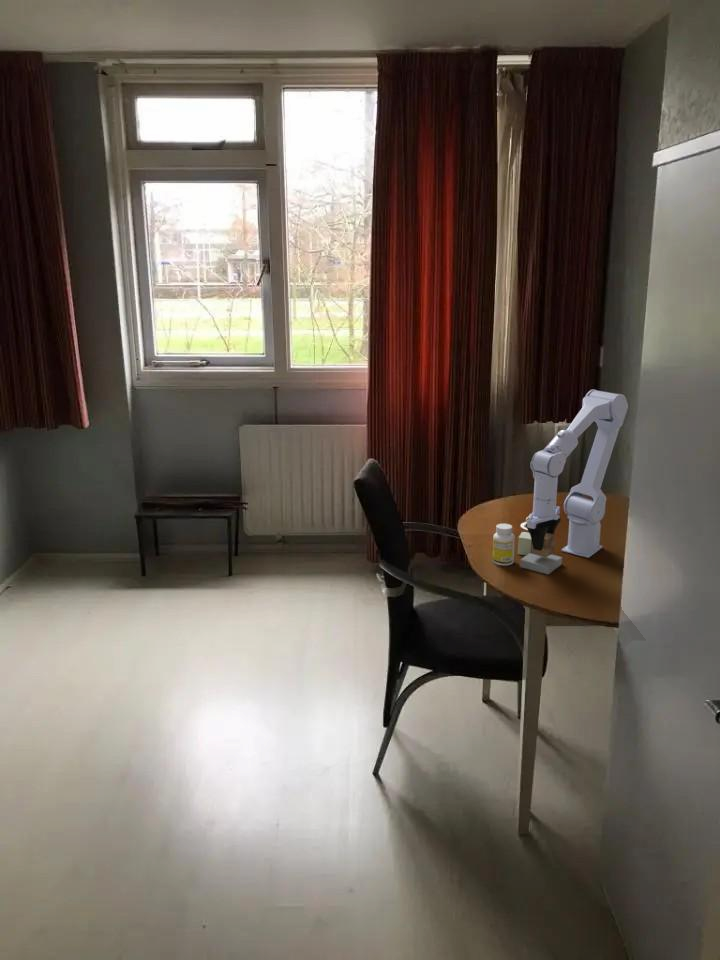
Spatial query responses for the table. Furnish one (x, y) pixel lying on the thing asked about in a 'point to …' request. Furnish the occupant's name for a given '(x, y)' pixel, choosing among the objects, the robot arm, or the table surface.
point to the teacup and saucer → (525, 523)
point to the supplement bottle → (503, 545)
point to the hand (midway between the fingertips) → (541, 546)
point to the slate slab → (541, 563)
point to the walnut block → (545, 546)
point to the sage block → (524, 543)
